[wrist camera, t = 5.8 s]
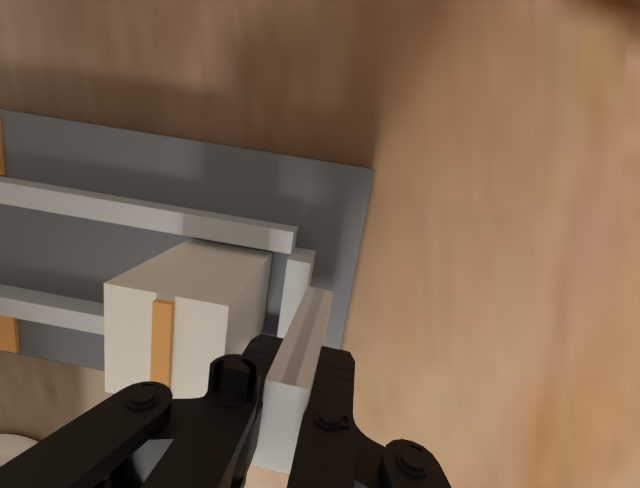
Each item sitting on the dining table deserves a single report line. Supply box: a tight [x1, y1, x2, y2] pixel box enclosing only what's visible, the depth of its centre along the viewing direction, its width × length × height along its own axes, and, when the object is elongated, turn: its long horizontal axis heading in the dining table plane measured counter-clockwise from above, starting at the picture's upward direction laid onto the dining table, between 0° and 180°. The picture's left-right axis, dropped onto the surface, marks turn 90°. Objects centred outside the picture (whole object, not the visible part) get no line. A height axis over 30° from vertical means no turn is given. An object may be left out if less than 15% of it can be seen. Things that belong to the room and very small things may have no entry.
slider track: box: [0, 109, 374, 371], centre depth 18 cm, size 13×28×4 cm, turn 81°
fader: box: [104, 239, 272, 399], centre depth 14 cm, size 4×4×6 cm
